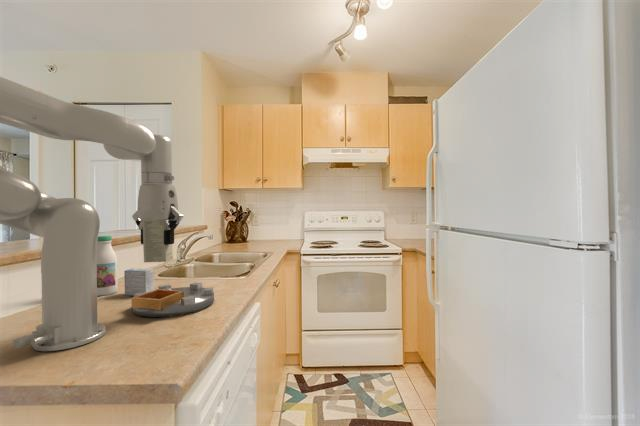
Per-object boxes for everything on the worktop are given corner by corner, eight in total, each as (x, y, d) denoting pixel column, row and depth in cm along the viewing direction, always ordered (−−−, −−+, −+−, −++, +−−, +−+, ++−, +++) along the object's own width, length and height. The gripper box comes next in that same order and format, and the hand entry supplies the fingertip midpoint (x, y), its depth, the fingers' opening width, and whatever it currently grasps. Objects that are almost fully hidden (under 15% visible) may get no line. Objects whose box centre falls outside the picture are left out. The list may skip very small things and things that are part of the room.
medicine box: (154, 292, 105) (154, 267, 105) (146, 296, 100) (145, 270, 100) (133, 292, 105) (133, 267, 105) (124, 295, 101) (123, 270, 101)
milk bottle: (96, 291, 107) (95, 235, 106) (121, 289, 109) (120, 234, 109) (86, 297, 99) (85, 237, 99) (113, 295, 102) (112, 236, 101)
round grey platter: (180, 320, 77) (180, 302, 77) (112, 313, 82) (112, 296, 82) (227, 295, 98) (227, 281, 98) (171, 291, 104) (171, 278, 104)
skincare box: (173, 259, 86) (172, 217, 86) (165, 262, 82) (165, 218, 82) (150, 260, 86) (150, 217, 86) (142, 262, 82) (141, 218, 81)
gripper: (192, 180, 85) (193, 243, 85) (142, 182, 89) (143, 241, 89) (173, 178, 78) (174, 246, 78) (119, 180, 82) (120, 244, 82)
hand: (157, 243), depth 84 cm, fingers closed on skincare box, 7 cm apart
